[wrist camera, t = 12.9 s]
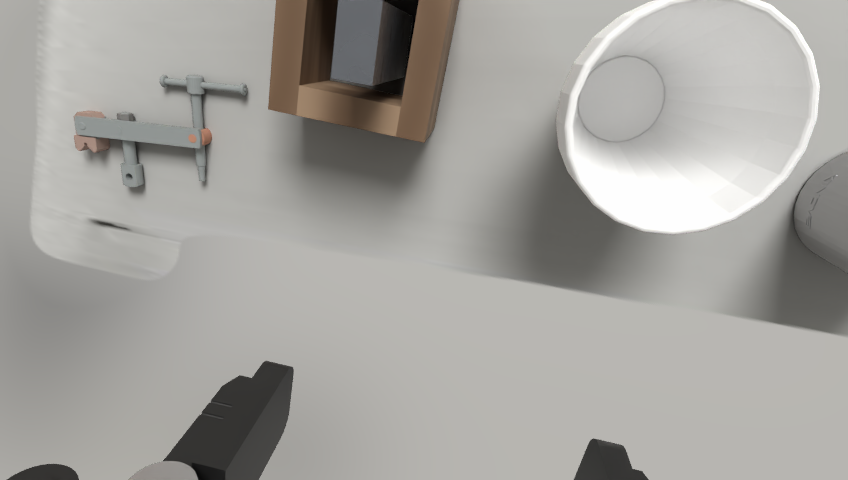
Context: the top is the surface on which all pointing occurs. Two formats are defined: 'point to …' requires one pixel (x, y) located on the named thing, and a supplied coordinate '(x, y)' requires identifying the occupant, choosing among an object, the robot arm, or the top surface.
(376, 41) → the grey upright bar
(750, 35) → the cup
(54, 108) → the top surface
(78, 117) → the clamp
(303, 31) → the well block
